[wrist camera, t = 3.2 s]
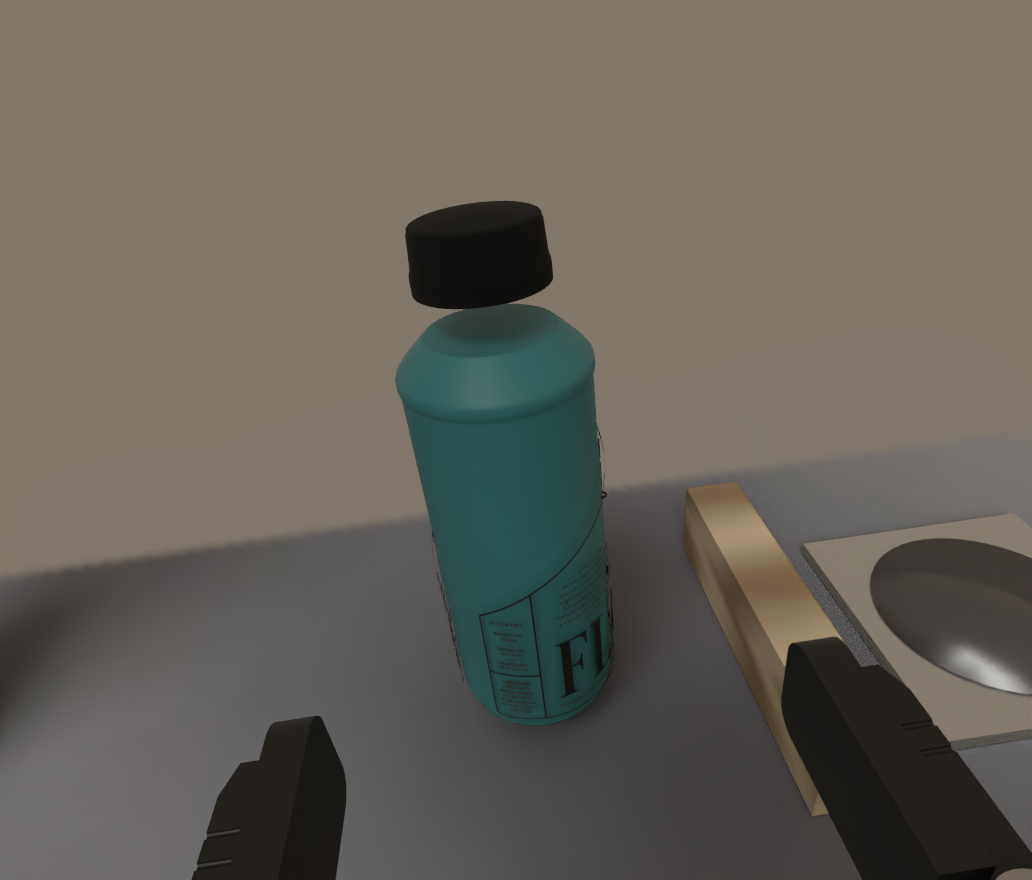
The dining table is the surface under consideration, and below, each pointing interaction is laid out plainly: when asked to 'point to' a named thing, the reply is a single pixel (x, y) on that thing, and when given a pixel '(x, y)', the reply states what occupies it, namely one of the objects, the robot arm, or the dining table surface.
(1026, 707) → the plate
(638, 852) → the dining table surface
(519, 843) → the dining table surface
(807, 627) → the sill
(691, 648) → the dining table surface
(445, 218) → the beverage bottle
